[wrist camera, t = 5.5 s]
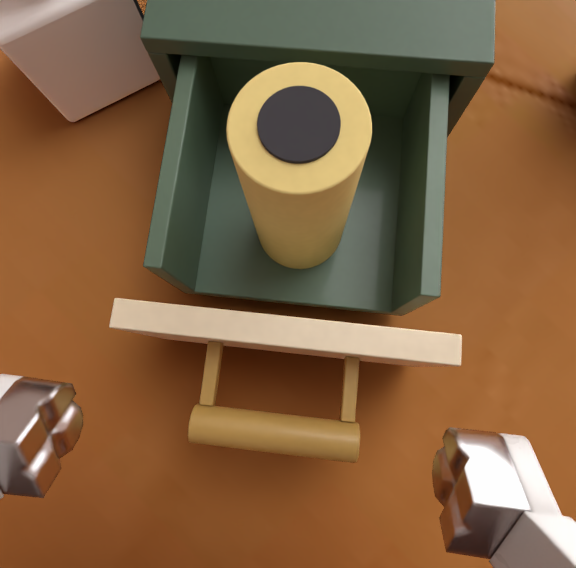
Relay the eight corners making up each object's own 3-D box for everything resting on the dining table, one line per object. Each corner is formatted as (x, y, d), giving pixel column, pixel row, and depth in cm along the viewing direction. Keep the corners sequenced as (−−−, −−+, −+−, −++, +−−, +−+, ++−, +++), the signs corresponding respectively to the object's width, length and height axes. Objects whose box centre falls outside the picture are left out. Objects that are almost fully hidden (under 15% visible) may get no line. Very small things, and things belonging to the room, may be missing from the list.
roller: (240, 237, 23) (195, 139, 13) (290, 173, 24) (283, 33, 14) (309, 286, 22) (316, 221, 12) (358, 219, 23) (402, 106, 13)
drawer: (409, 451, 22) (457, 489, 15) (151, 420, 22) (85, 443, 16) (426, 120, 25) (472, 29, 19) (203, 101, 26) (169, 8, 19)
